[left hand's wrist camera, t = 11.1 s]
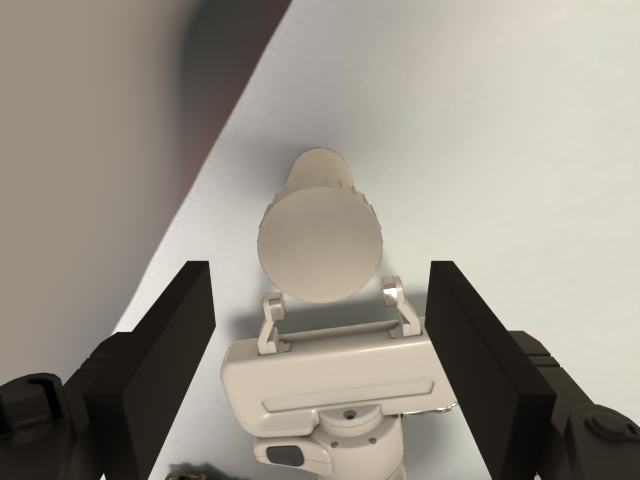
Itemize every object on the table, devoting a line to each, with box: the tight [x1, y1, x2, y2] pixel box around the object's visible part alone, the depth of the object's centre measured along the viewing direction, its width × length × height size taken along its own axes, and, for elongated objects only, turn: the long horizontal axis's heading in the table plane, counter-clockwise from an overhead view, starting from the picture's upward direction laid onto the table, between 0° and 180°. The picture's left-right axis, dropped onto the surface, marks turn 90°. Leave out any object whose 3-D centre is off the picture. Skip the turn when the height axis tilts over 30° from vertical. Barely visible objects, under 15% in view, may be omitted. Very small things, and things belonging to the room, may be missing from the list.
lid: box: [257, 176, 383, 303], centre depth 19 cm, size 6×6×2 cm
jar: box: [284, 148, 356, 189], centre depth 26 cm, size 5×5×16 cm
